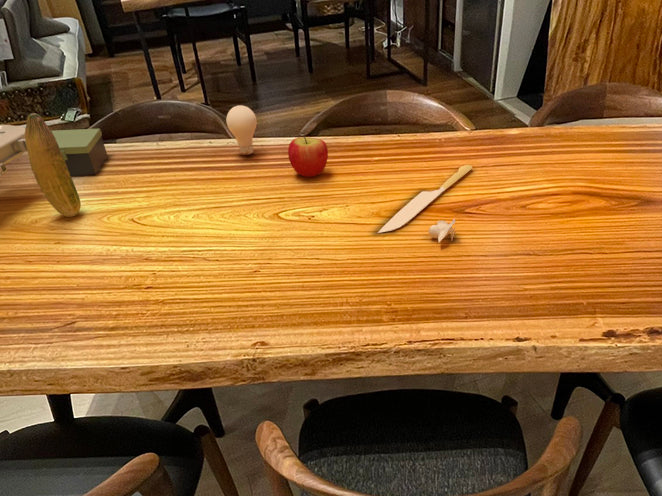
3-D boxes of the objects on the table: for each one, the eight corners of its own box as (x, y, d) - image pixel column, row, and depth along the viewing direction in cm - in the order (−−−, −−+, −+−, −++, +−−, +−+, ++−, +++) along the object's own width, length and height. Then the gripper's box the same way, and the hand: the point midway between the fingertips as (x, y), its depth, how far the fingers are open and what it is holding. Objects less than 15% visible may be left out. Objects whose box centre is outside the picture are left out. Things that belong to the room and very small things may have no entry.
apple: (286, 170, 137) (280, 124, 130) (323, 163, 139) (319, 118, 132) (296, 185, 131) (290, 138, 125) (334, 178, 133) (330, 131, 127)
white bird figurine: (425, 224, 116) (435, 202, 113) (448, 232, 117) (459, 210, 114) (426, 246, 110) (437, 223, 107) (450, 254, 111) (461, 232, 108)
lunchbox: (39, 178, 138) (28, 149, 133) (56, 157, 146) (46, 130, 142) (95, 176, 138) (85, 147, 134) (109, 155, 146) (100, 127, 142)
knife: (369, 228, 116) (390, 232, 113) (457, 161, 136) (476, 163, 133) (370, 234, 117) (391, 238, 114) (457, 167, 136) (476, 169, 134)
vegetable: (60, 226, 121) (18, 122, 108) (46, 216, 124) (3, 114, 111) (89, 215, 124) (51, 112, 111) (75, 205, 127) (36, 105, 114)
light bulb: (264, 158, 142) (257, 108, 135) (235, 163, 141) (226, 113, 133) (258, 147, 147) (250, 99, 140) (230, 152, 145) (221, 103, 138)
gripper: (-90, 158, 112) (-28, 165, 109) (-9, 117, 126) (48, 122, 123) (-72, 191, 116) (-12, 198, 113) (5, 148, 131) (60, 153, 128)
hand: (20, 158), depth 118 cm, fingers open, 8 cm apart
